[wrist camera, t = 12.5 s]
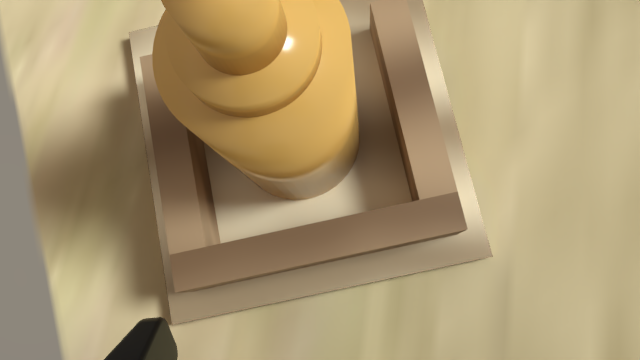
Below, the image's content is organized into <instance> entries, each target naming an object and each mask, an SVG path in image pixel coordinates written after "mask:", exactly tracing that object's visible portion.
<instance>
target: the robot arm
mask: <svg viewBox="0 0 640 360" xmlns="http://www.w3.org/2000/svg"><path fill="white" fill-rule="evenodd" d="M177 357H178V352H177V346H176V343H175V341H174V338H173V336H172V333H171V331H170V328H169V326H168V324H167V322H166V320H165V319H164V318H161V317H158V318H146V319H142V320H141V321H139V322H138V323H137V324H136V325H135V327H134V328H133V329H132V330H131V331H130V332H129V333H128V334H127V335H126V336H125V337H124V338H123V340H122V341H121V342H120V343H119V344H118V345H117V346H116V347H115V348H114V349H113V350H112V351H111V353H110V354H109V355H108V356H107V357H106V358H105V359H104V360H177Z"/></svg>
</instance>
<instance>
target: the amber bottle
mask: <svg viewBox="0 0 640 360" xmlns="http://www.w3.org/2000/svg"><path fill="white" fill-rule="evenodd" d="M161 1H162V3H163V5H164V7H165V8H166V10H165V12H164V14H163V16H162V17H161V20H160V22H159V25H158V27H157V30H156V34H155V38H154V43H153V51H152V66H153V72H154V78H155V81H156V85H157V88H158V91H159V93H160V95H161V97H162V99H163V101H164V103H165V104H166V106H167V107H168V109H169V110H170V111H171V113H172V114H173V115H174V116H175V117H176V118H177V120H179V121H180V122H181V123H182V124H183V125H184V126H186V127H187V128H188V129H189V130H190V131H192V132H193V133H194V134H195V135H196V136H198V137H199V138H200V139H201V140H202V141H204V142H205V143H206V144H207V145H209V146H210V147H211V148H212V149H213V150H215V151H216V152H217V153H218V154H219V155H221V156H222V157H223V158H224V159H225V160H227V161H228V162H229V163H230V164H232V165H233V166H234V167H235V168H236V169H238V170H239V171H240V172H241V173H242V174H244V175H245V176H246V177H247V178H249V179H250V180H251V181H252V182H253V183H255V184H256V185H257V186H258V187H259V188H261V189H262V190H264V191H265V192H267V193H269V194H271V195H273V196H276V197H280V198H283V199H289V200H303V199H309V198H314V197H317V196H320V195H322V194H324V193H326V192H328V191H330V190H331V189H333V188H334V187H336V186H337V185H338V184H339V183H340V182H341V181H342V180H343V179H344V178H345V177H346V176H347V175H348V173H349V172H350V170H351V169H352V167H353V165H354V163H355V161H356V158H357V155H358V151H359V145H360V130H359V119H358V108H357V97H356V86H355V74H354V63H353V52H352V41H351V30H350V26H349V22H348V18H347V15H346V13H345V10H344V8H343V6H342V4H341V2H340V1H339V0H161Z"/></svg>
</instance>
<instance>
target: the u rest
mask: <svg viewBox="0 0 640 360" xmlns="http://www.w3.org/2000/svg"><path fill="white" fill-rule="evenodd" d="M339 1H340V2H341V4H342V6H343V8H344V10H345V13H346V15H347V18H348V22H349V26H350V30H351V41H352V52H353V63H354V74H355V86H356V97H357V108H358V119H359V130H360V145H359V151H358V155H357V158H356V161H355V163H354V165H353V167H352V169H351V170H350V172H349V173H348V175H347V176H346V177H345V178H344V179H343V180H342V181H341V182H340V183H339V184H338V185H337V186H336V187H334V188H333V189H331V190H330V191H328V192H326V193H324V194H322V195H320V196H317V197H314V198H309V199H303V200H289V199H283V198H280V197H276V196H273V195H271V194H269V193H267V192H265V191H264V190H262V189H261V188H259V187H258V186H257V185H256V184H255V183H253V182H252V181H251V180H250V179H249V178H247V177H246V176H245V175H244V174H242V173H241V172H240V171H239V170H238V169H236V168H235V167H234V166H233V165H232V164H230V163H229V162H228V161H227V160H225V159H224V158H223V157H222V156H221V155H219V154H218V153H217V152H216V151H215V150H213V149H212V148H211V147H210V146H209V145H207V144H206V143H205V142H204V141H202V140H201V139H200V138H199V137H198V136H196V135H195V134H194V133H193V132H192V131H190V130H189V129H188V128H187V127H186V126H184V125H183V124H182V123H181V122H180V121H179V120H177V118H176V117H175V116H174V115H173V114H172V113H171V111H170V110H169V109H168V107H167V106H166V104H165V103H164V101H163V99H162V97H161V95H160V93H159V91H158V88H157V85H156V81H155V78H154V72H153V66H152V51H153V43H154V38H155V34H156V30H157V27H158V25H157V26H153V27H149V28H145V29H141V30H136V31H132V32H129V37H130V44H131V51H132V57H133V64H134V71H135V78H136V85H137V91H138V98H139V105H140V112H141V118H142V125H143V132H144V139H145V146H146V152H147V159H148V166H149V173H150V180H151V186H152V193H153V200H154V207H155V213H156V220H157V227H158V234H159V241H160V247H161V254H162V261H163V268H164V275H165V281H166V288H167V295H168V302H169V308H170V315H171V322H172V325H174V324H179V323H184V322H188V321H193V320H198V319H202V318H207V317H212V316H217V315H221V314H226V313H231V312H235V311H240V310H245V309H249V308H254V307H259V306H263V305H268V304H273V303H277V302H282V301H287V300H291V299H296V298H301V297H305V296H310V295H315V294H319V293H324V292H329V291H333V290H338V289H343V288H348V287H352V286H357V285H362V284H366V283H371V282H376V281H380V280H385V279H390V278H394V277H399V276H404V275H408V274H413V273H418V272H422V271H427V270H432V269H436V268H441V267H446V266H450V265H455V264H460V263H465V262H469V261H474V260H479V259H483V258H488V257H493V256H492V252H491V249H490V245H489V241H488V238H487V234H486V230H485V227H484V223H483V219H482V216H481V212H480V208H479V205H478V201H477V197H476V194H475V190H474V186H473V183H472V179H471V176H470V172H469V168H468V165H467V161H466V157H465V154H464V150H463V146H462V143H461V139H460V135H459V132H458V128H457V124H456V121H455V117H454V113H453V110H452V106H451V102H450V99H449V95H448V91H447V88H446V84H445V80H444V77H443V73H442V70H441V66H440V62H439V59H438V55H437V51H436V48H435V44H434V40H433V37H432V33H431V29H430V26H429V22H428V18H427V15H426V11H425V7H424V4H423V0H339Z"/></svg>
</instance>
